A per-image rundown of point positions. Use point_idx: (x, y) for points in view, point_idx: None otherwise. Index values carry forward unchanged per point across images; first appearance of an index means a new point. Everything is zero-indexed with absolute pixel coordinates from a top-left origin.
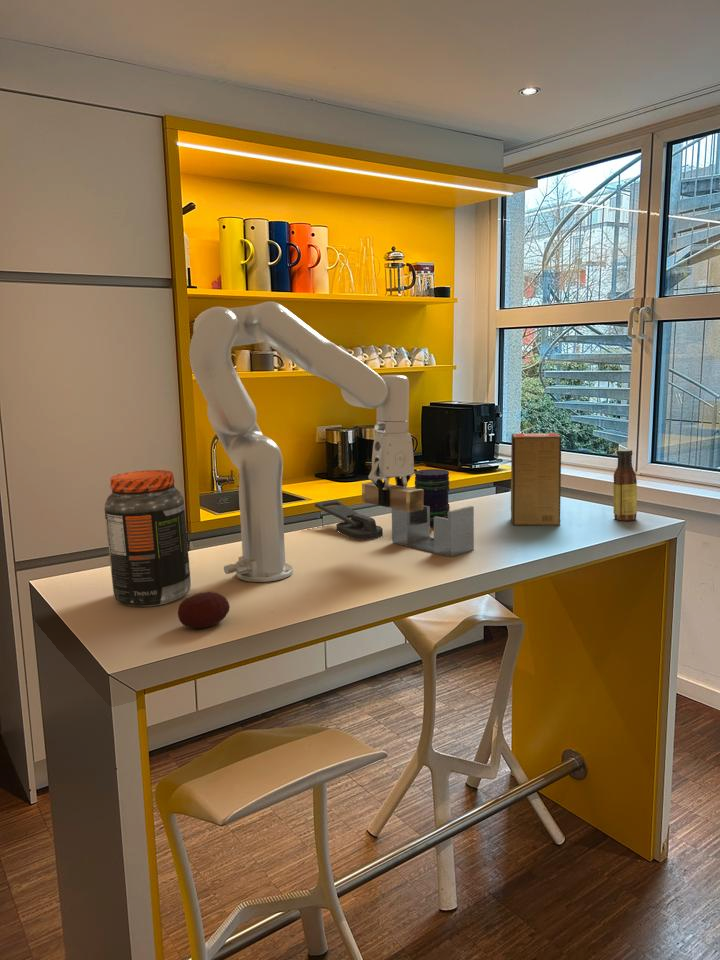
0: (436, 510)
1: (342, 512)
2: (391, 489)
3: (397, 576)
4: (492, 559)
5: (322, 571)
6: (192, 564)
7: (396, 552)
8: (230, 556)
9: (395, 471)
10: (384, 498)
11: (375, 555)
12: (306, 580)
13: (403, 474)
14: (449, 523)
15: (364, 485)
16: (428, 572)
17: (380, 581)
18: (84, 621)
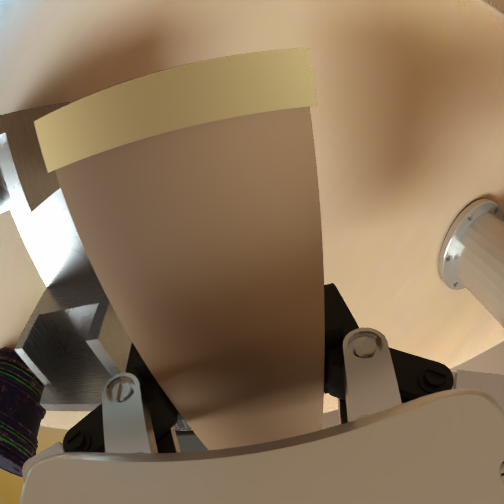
0: (7, 378)
1: (197, 444)
2: (321, 324)
3: (322, 32)
4: (7, 39)
5: (418, 196)
6: (466, 332)
7: None
8: (426, 350)
9: (360, 491)
10: (331, 299)
11: None
12: (463, 166)
13: (177, 467)
14: (11, 119)
15: None
16: (225, 3)
17: (378, 36)
18: None
